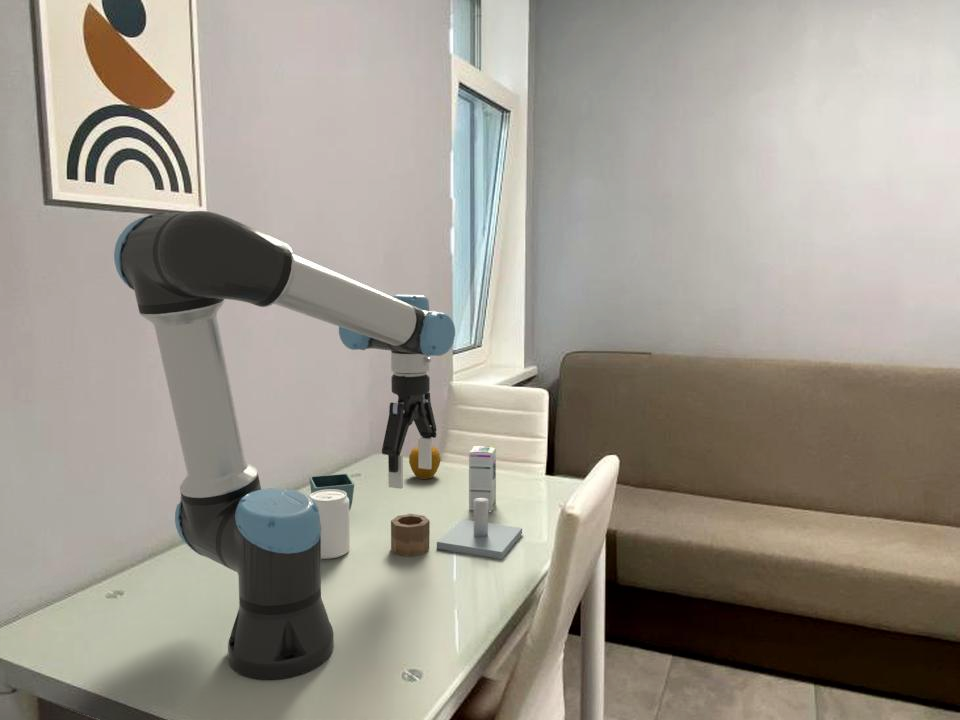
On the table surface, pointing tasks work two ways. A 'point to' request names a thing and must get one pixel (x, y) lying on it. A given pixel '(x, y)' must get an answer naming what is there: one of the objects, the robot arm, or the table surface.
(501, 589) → the table surface
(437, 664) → the table surface
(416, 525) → the collar
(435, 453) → the apple
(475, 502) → the post block
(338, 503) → the beverage can
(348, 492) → the flower pot
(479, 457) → the syrup box
